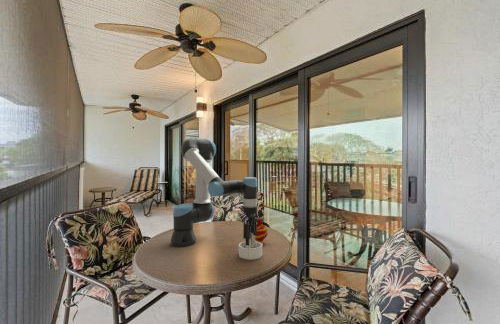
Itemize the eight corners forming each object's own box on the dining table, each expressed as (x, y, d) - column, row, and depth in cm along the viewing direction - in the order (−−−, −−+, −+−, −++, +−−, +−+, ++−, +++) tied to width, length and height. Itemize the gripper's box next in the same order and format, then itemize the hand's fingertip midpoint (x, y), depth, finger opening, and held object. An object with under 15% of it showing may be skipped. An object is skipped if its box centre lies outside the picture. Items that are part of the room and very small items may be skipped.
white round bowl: (234, 257, 134) (234, 246, 134) (244, 249, 145) (244, 239, 145) (256, 261, 129) (256, 250, 129) (265, 252, 140) (265, 242, 140)
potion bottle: (266, 245, 151) (266, 220, 151) (249, 244, 154) (249, 220, 153) (268, 240, 162) (268, 216, 161) (252, 239, 164) (252, 216, 164)
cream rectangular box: (246, 253, 137) (246, 233, 137) (247, 252, 139) (247, 232, 139) (252, 254, 136) (252, 234, 136) (253, 253, 138) (253, 232, 137)
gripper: (249, 209, 127) (249, 256, 127) (262, 203, 144) (262, 244, 144) (236, 208, 130) (236, 253, 130) (250, 202, 147) (250, 242, 147)
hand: (250, 248), depth 137 cm, fingers open, 5 cm apart
